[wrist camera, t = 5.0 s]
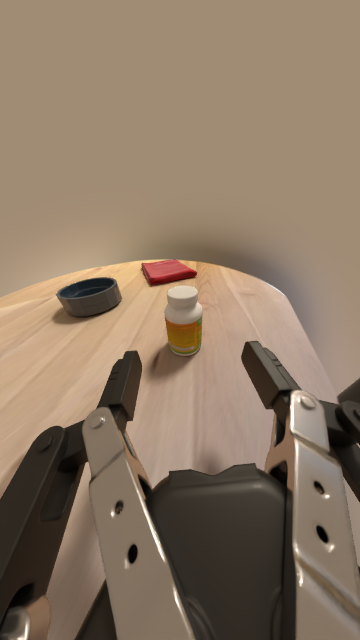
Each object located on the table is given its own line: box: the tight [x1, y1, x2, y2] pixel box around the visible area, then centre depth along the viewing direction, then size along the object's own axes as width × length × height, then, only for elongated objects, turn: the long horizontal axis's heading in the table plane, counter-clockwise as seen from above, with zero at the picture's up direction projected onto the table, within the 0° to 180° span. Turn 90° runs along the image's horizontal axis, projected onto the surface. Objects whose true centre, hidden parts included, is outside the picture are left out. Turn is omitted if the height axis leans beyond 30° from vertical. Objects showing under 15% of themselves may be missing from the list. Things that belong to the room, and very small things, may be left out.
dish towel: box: [142, 259, 197, 285], centre depth 56 cm, size 17×24×3 cm
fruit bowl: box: [56, 277, 122, 317], centre depth 36 cm, size 13×13×5 cm
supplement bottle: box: [164, 286, 202, 356], centre depth 21 cm, size 5×5×10 cm
